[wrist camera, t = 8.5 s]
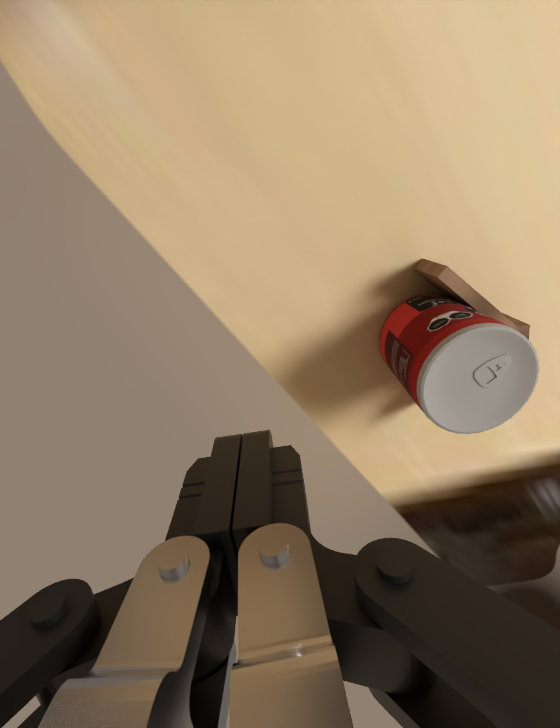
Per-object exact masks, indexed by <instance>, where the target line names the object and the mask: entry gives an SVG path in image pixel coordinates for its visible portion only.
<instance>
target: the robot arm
mask: <svg viewBox="0 0 560 728" xmlns="http://www.w3.org/2000/svg"><path fill="white" fill-rule="evenodd" d="M236 616H238V662H237V663H235V661H236V645H235V641H234V636H235V624H236ZM343 681H347V682H351V683H355V684H358V685H363V686H366V687H369V689H370V691H371V693H372V695H373V696H374V698H375V699H376V700H377V701H378V702H379V703H380V704H381V705H382V706H383V707H384V708H385V710H387V712H388V713H389V714H390V715H391V716H392V717H394V719H395V720H396V721H397V722H398V723H399V724H400V725H401V726H402V727H403V728H560V631H559V630H557V629H555V628H554V627H552V626H550V625H549V624H547V623H545V622H544V621H542V620H540V619H538V618H537V617H535V616H534V615H532V614H530V613H529V612H527V611H526V610H524V609H522V608H521V607H519V606H517V605H516V604H514V603H512V602H511V601H509V600H507V599H506V598H504V597H502V596H500V595H499V594H497V593H496V592H494V591H492V590H491V589H489V588H487V587H486V586H484V585H482V584H481V583H479V582H477V581H476V580H474V579H472V578H471V577H469V576H467V575H466V574H464V573H463V572H461V571H459V570H458V569H456V568H454V567H453V566H451V565H449V564H448V563H446V562H444V561H443V560H441V559H439V558H438V557H436V556H434V555H433V554H431V553H429V552H428V551H426V550H424V549H423V548H421V547H419V546H418V545H416V544H414V543H412V542H409V541H406V540H403V539H398V538H383V539H378V540H375V541H372V542H370V543H368V544H367V545H366V546H364V547H363V548H362V549H361V550H360V551H359V552H358V554H357V555H353V554H346V553H340V552H336V551H333V550H330V549H328V548H326V547H324V546H323V545H321V544H320V543H319V542H318V541H316V539H315V538H314V537H313V536H312V534H311V530H310V522H309V514H308V507H307V499H306V493H305V487H304V480H303V473H302V467H301V460H300V455H299V454H298V453H297V452H296V451H295V449H294V448H293V447H292V446H291V445H289V446H282V447H275V448H274V447H273V442H272V436H271V432H270V430H266V431H258V432H251V433H244V435H242V434H238V435H231V436H224V437H217V438H215V441H214V445H213V449H212V453H211V457H206V458H199V459H197V460H196V462H195V463H194V464H193V465H192V466H191V467H190V468H189V470H188V471H187V473H186V476H185V479H184V482H183V488H181V492H180V495H179V500H178V501H177V504H176V508H175V511H174V514H173V517H172V520H171V524H170V527H169V530H168V533H167V536H166V539H165V541H164V542H163V543H161V544H159V545H158V546H156V547H155V548H154V549H152V550H151V551H150V552H149V553H148V554H147V555H146V556H145V558H144V559H143V560H142V562H141V564H140V565H139V568H138V570H137V572H136V574H135V576H134V578H132V579H130V580H128V581H126V582H123V583H121V584H119V585H116V586H114V587H111V588H109V589H106V590H104V591H101V592H99V593H96V594H93V592H92V590H91V588H90V586H89V585H88V583H86V582H85V581H83V580H80V579H67V580H62V581H59V582H56V583H54V584H52V585H49V586H47V587H45V588H44V589H42V590H40V591H39V592H37V593H36V594H35V595H33V596H32V597H31V598H29V599H28V600H27V601H25V602H24V603H23V604H22V605H20V606H19V607H17V608H16V609H15V610H14V611H12V612H11V613H10V614H8V615H7V616H6V617H4V618H3V619H2V620H0V728H2V727H3V726H4V725H5V724H6V723H7V722H8V721H9V720H10V719H11V718H12V717H13V716H14V715H15V714H16V713H17V712H18V711H20V710H21V709H22V708H23V707H24V706H25V705H26V704H27V703H28V702H29V701H30V700H31V699H32V698H33V697H35V696H36V697H37V699H38V700H39V702H40V704H41V705H40V706H39V707H38V708H37V709H36V710H35V711H34V712H33V713H32V714H31V715H30V716H29V717H28V718H27V719H26V720H25V721H24V722H23V723H22V724H21V725H20V726H19V727H18V728H226V724H227V717H228V710H229V709H230V710H229V728H353V723H352V719H351V714H350V710H349V706H348V702H347V697H346V692H345V688H344V683H343ZM229 703H230V706H229Z"/></svg>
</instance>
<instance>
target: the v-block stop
mask: <svg viewBox="0 0 560 728" xmlns="http://www.w3.org/2000/svg"><path fill="white" fill-rule="evenodd" d="M415 269H416V270H417V271H418V272H420V273H421V274H422V275H423V276H424V277H426V278H427V279H428V280H429V281H430V282H432V283H433V284H434V285H435V286H436V287H438V288H439V289H440V290H441V291H442V292H443V293H445V294H446V295H447V296H448V297H449V298H451V299H453V300H455V301H457V302H459V303H462V304H464V305H466V306H468V307H470V308H472V309H474V310H476V311H479V312H481V313H483V314H485V315H487V316H489V317H491V318H493V319H496V320H498V321H500V322H502V323H504V324H505V325H507V326H509V327H511V328H513V329H515V330H517V331H518V332H520V333H521V334H522V335H524V336H525V337H526V338H527V339H528V340H529V328H530V325H528V324H526V323H524V322H522V321H519V320H517V319H515V318H512V317H510V316H508V315H506V314H503V313H501V312H500V311H499V310H497V309H496V308H495V307H494V306H493V305H492V304H491V303H489V302H488V301H487V300H486V299H485V298H484V297H482V296H481V295H480V294H479V293H478V292H477V291H475V290H474V289H473V288H472V287H471V286H470V285H468V284H467V283H466V282H465V281H464V280H463V279H461V278H460V277H459V276H458V275H457V274H456V273H454V272H453V271H452V270H451V269H450V268H449V267H448V266H445V265H442V264H438V263H435V262H432V261H429V260H426V259H422V260H421V261H420V262H419V263H418V265H417V266H416V267H415Z"/></svg>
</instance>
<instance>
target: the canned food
mask: <svg viewBox="0 0 560 728" xmlns="http://www.w3.org/2000/svg"><path fill="white" fill-rule="evenodd" d="M380 349H381V353H382V356H383V358H384V361H385V362H386V364H387V365H388V366H389V368H390V369H391V370H392V372H393V373H394V374H395V376H396V377H397V378H398V380H399V381H400V382H401V384H402V385H403V386H404V388H405V389H406V390H407V392H408V393H409V394H410V396H411V397H412V398H413V400H414V401H415V402H416V404H417V405H418V406H419V407H420V409H421V410H422V411H423V412H424V413H425V415H426V416H427V417H428V418H429V419H430V420H431V421H432V422H433V423H435V424H436V425H437V426H439V427H440V428H442V429H445V430H447V431H450V432H454V433H460V434H471V433H479V432H483V431H486V430H490V429H492V428H494V427H497V426H499V425H501V424H502V423H504V422H506V421H507V420H509V419H510V418H512V417H513V416H514V415H515V414H516V413H517V412H518V411H519V410H520V409H521V408H522V407H523V406H524V405H525V403H526V402H527V401H528V399H529V398H530V396H531V394H532V393H533V391H534V388H535V386H536V383H537V380H538V374H539V360H538V356H537V353H536V350H535V348H534V347H533V345H532V344H531V342H530V341H529V340H528V339H527V338H526V337H525V336H524V335H522V334H521V333H520V332H518V331H517V330H515V329H513V328H511V327H509V326H507V325H505V324H504V323H502V322H500V321H498V320H496V319H493V318H491V317H489V316H487V315H485V314H483V313H481V312H479V311H476V310H474V309H472V308H470V307H468V306H466V305H464V304H462V303H459V302H457V301H455V300H453V299H451V298H449V297H446V296H443V295H439V294H426V295H420V296H417V297H413V298H410V299H408V300H407V301H405V302H403V303H401V304H400V305H399V306H398V307H396V308H395V309H394V310H393V311H392V312H391V314H390V315H389V316H388V318H387V319H386V321H385V323H384V326H383V328H382V332H381V337H380Z"/></svg>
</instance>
